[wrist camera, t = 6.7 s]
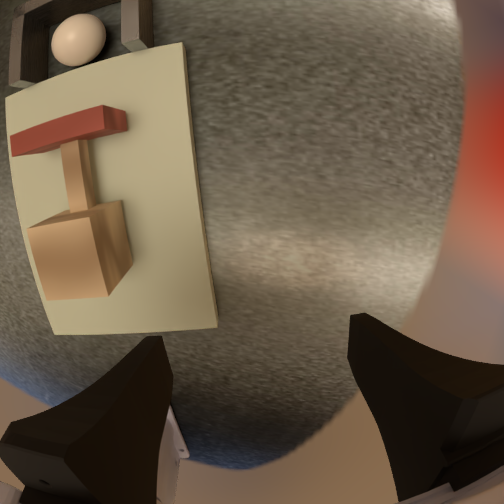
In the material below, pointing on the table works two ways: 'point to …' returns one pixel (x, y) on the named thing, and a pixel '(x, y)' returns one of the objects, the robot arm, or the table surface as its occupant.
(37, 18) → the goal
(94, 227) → the t-shaped pusher
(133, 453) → the robot arm
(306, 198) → the table surface
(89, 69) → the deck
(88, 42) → the ball
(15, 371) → the table surface
